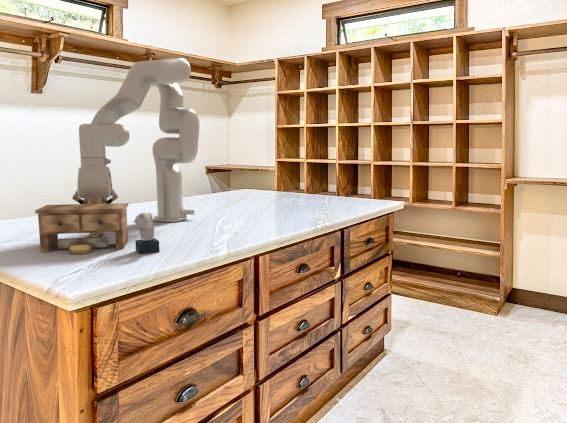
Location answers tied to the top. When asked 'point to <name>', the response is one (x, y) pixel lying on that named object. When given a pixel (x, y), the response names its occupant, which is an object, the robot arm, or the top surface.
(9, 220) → the top surface
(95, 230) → the cabinet
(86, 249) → the brass token
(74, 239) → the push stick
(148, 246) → the watch
